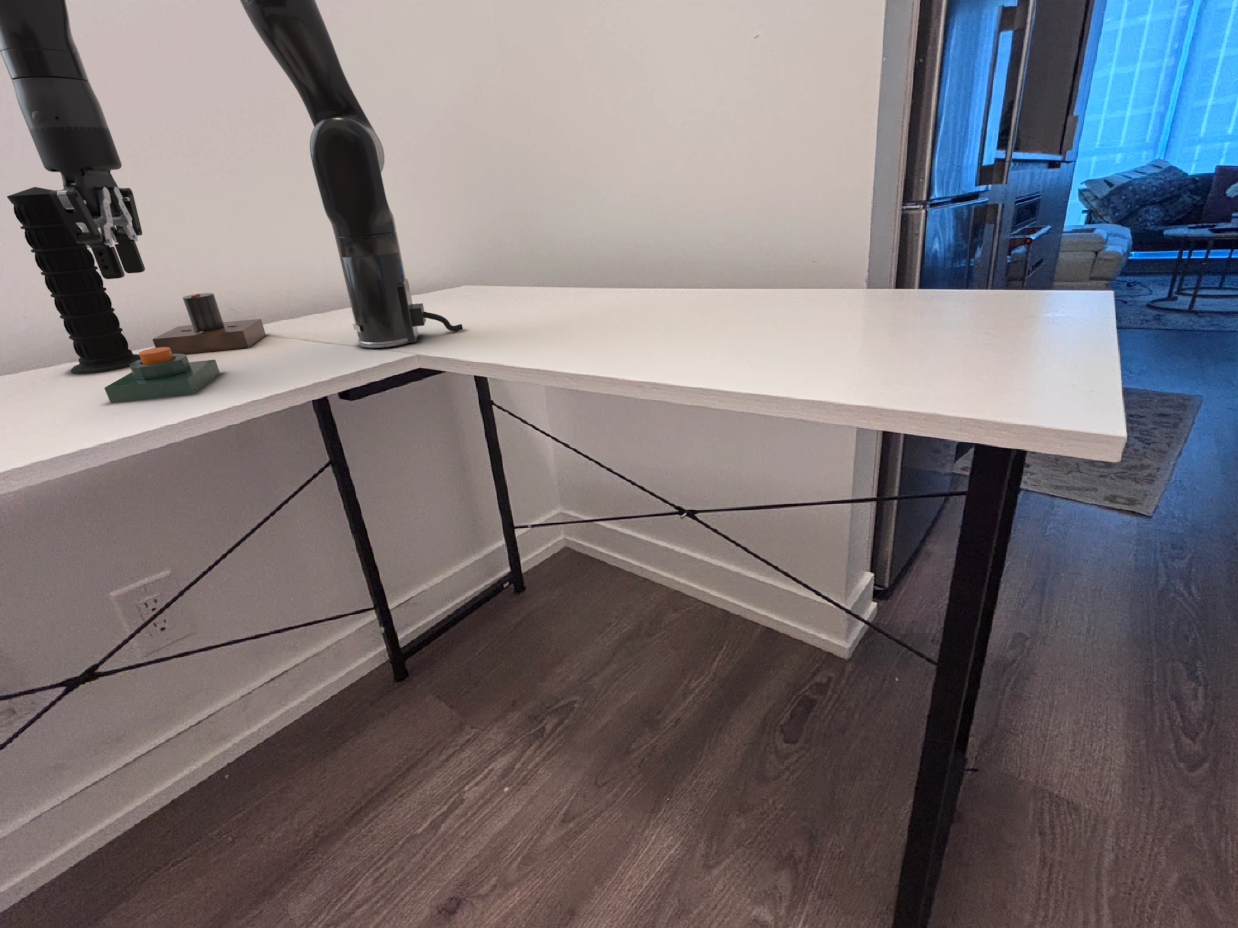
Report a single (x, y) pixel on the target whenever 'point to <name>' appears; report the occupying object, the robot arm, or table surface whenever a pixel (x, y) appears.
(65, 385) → the table surface
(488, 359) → the table surface
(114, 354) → the handle grip
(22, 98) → the robot arm
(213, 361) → the button box
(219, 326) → the dial
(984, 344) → the table surface
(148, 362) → the button
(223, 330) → the panel
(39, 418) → the table surface
